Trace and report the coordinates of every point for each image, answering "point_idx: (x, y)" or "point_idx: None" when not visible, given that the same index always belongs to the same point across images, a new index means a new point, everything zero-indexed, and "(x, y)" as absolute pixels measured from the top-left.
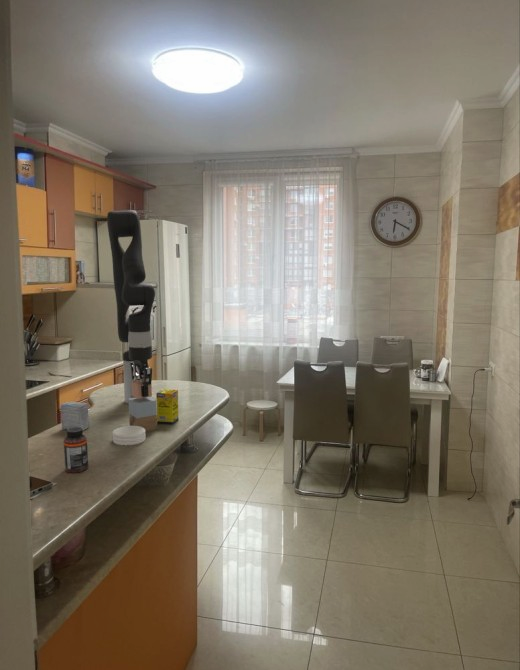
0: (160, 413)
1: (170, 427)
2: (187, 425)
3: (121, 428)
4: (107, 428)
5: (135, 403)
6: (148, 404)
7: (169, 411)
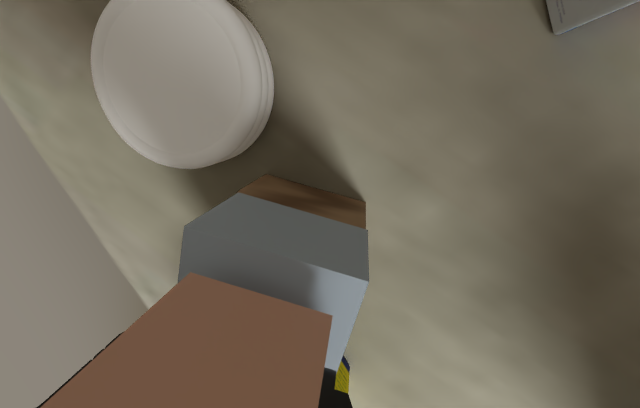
0: None
1: None
2: None
3: (231, 69)
4: (445, 111)
5: (196, 228)
6: None
7: None
